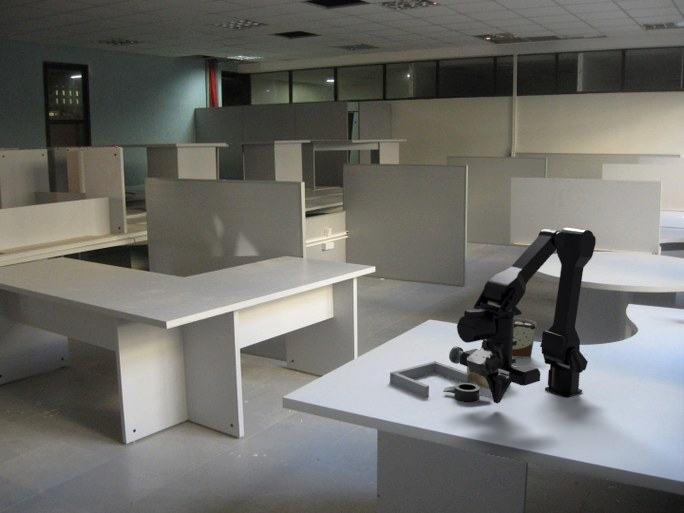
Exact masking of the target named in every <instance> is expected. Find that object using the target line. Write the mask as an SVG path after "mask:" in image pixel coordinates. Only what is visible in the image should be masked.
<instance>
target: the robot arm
mask: <svg viewBox="0 0 684 513" xmlns="http://www.w3.org/2000/svg"><path fill="white" fill-rule="evenodd" d="M596 239H597V238H596V236H595V235H594V233H593V232H592V230H589V229H583V228H582V229H581V228H577V227H576V228H575V227H564V228H562V229H561V230H560V229H559V230H558V229H553V228H552V229H551V228H544V229H541V230H540V231H539V233H538V235H537V237H536V238H535V239H534V240H533V242H532V243H531V244H530V245H529V246H528V247H527V248H526V249H525V251H523V252H522V253H521V255H520V256H519V257H517V259H516V260H515V261H514V263H512V265H511V266H509V267H508V268H507V269H504V270H502V271H500V272H497V273H496V274H495V275H493V276H492V277H491V278H490V279H489V280H488V281H486V283H485V284H484V287H483V290H482V291H481V293H480V295H479V297H478V298H477V300H476V302H475V304H474V305H473V309H472V310H471V309H467V310H466V309H465V310H464V312H463V314H464V315H462V316H461V317H460V318H459V320H458V322H457V324H456V330H457V335H458V337H459V339H460V340H461V341H462V342H463V343H469V344H470V343H473V342H479V341H481V347H480V348H479V349H478V348H473V349H469V350H465V351H463V353H462V354H461V356H460V363H459V365H462V366H463V367H466V368H467V367H469V371H470V372H472V373H473V372H474V373H476V374H479V375H480V376H483V377H484V378H486V380H487V382H488V385H489V388H490V389H489V391H490V393H491V394H490V395H491V397H492V400H493V403H494V404H497V405H498V404H500V402H501V401H502V400H503V397H504V396H505V394H506V392H507V390H508V388H509V387H510V385H511V384H517V385H519V386H525V387H526V386H528V385H531V384H535V383H538V382H540V381H541V371H540V370H539V368H538V367H535V366H532V365H528V364H526V363H525V364H521V365H519V366H515V365H513V364H516V362H517V361H516V360H517V357H512V352H513V346H514V345H517V340H513V332H514V318H515V316H521V315H522V311H521V310H520V309H519V308H518V307H517V306H518V304H519V302H520V301H521V299H522V298H523V296H524V295H525V294H526V292H527V289H526V288H527V284H528V283H529V281H530V280H531V279H532V278H533V277H534V275H535V274H536V273H537V272H538V271H539V269H541V267H542V266H543V265H544V264H545V263H546V262H547V261H548V259H550V257H551V256H552V255H553V254H554V253H555V252H556V254H557V257H558V260H559V262H560V266H561V267H560V272H559V281H558V287H557V295H556V302H555V308H554V316H553V323H552V325H551V326H550V327H549V329H547V330H543V331H542V334H541V342H540V345H539V347H540V348H541V354H542V355H543V360H544V364H546V365H549V369H548V375H547V386H546V387H544V390H545V391H547V392H550V393H551V394H552V393H553V394H555V395H559V396H562V397H565V398H570V397H572V396H574V395H578V394H580V393H581V394H582V393H583V389H580V388H579V387H580V376H581V375H580V373H581V374H582V373H583V371H586V369H587V366H588V363H589V362H588V360H587V359H586V357H585V356H584V355H583V354H582V352H581V351H580V349H581V348H580V346H581V340H580V337H579V334H578V332H577V329H576V323H577V316H578V308H579V302H580V301H579V300H580V295H581V288H582V281H583V273H584V269H585V267H586V265H587V264H588V263H589V262H590V260H591V259H592V258H593V256H594V250H595V248H596V244H597V240H596Z"/></svg>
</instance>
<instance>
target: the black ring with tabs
mask: <svg viewBox="0 0 684 513" xmlns="http://www.w3.org/2000/svg"><path fill="white" fill-rule="evenodd" d="M480 387H481V386H479V385H476V384H474V383H462V382H459V383H457V384H455V385H453V386H448V387H444V389H443V391H442V392H443V393H450V394H454V396H453V398H454V400H456V401H458V402H461V403H468V404H469V403H476V402H479V400H480V397H484V398H488V399H489V398H491V397H492V395H487V394H486V395H485V394H482V393H480Z"/></svg>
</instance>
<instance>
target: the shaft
mask: <svg viewBox="0 0 684 513" xmlns="http://www.w3.org/2000/svg"><path fill="white" fill-rule="evenodd" d="M463 349H464V348H462V347H460V346H458V345H457V346H453V347H452V348H451V349H450V350H449V356H448V358H449V360H450V362H451V363H453V364H454V365H455V364H457V365H458V364H460V356H461V354H462V353H463V352H464V350H463Z"/></svg>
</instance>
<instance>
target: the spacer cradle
mask: <svg viewBox="0 0 684 513" xmlns="http://www.w3.org/2000/svg"><path fill="white" fill-rule="evenodd" d="M434 373H436V374H438V375H441V376H443V377H447V378H449V379H451V380H454V381H457V382H459V383H471V374H470V373H467V371H465V370H464V371H463V370H461V369H458V368H455V367H452V366H450V365H447V364H443V363H441V362H439V361H436V360H434V361H429V362H427V363H422V364H418V365H414V366H411V367H407V368H403V369H399V370H395V371H390V372H389V383H391V384H393V385H397V387H400V388H403V389H406V390H408V391H410V392H413V393H414V394H418V395H420V396H422V397H423V398H426V397H429V396H430V386H429V384H428V385H427V384H425V383H423V382H421V381H418V380H416V379H415V378H418V377H423V376H425V375H429V374H434Z"/></svg>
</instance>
